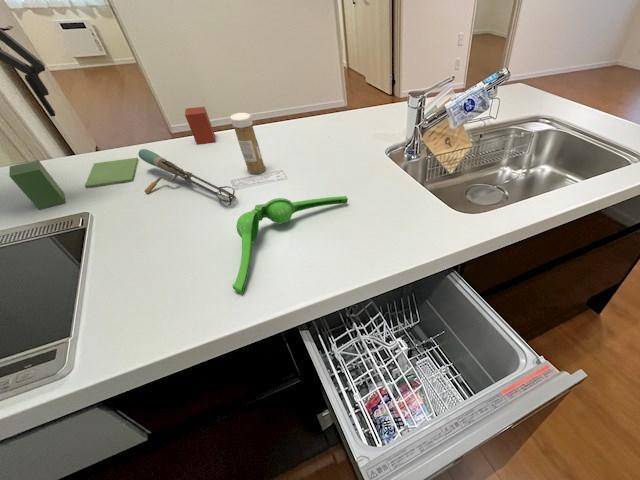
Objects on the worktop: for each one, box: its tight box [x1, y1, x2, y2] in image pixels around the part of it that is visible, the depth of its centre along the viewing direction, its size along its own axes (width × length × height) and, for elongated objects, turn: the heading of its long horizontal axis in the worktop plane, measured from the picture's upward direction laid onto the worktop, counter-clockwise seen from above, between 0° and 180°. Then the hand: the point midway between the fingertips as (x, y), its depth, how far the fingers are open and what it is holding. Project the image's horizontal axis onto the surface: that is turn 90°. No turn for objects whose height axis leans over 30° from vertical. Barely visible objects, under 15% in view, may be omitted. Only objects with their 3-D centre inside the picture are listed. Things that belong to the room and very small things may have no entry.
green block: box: [8, 160, 66, 210], centre depth 76 cm, size 5×5×8 cm
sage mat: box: [84, 157, 139, 189], centre depth 87 cm, size 12×10×1 cm
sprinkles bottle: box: [230, 112, 266, 175], centre depth 85 cm, size 5×5×13 cm
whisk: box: [138, 148, 237, 208], centre depth 81 cm, size 11×32×7 cm, turn 58°
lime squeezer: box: [232, 195, 349, 295], centre depth 70 cm, size 34×12×6 cm, turn 152°
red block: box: [184, 106, 216, 145], centre depth 99 cm, size 5×5×8 cm
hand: (9, 121), depth 66 cm, fingers open, 13 cm apart
